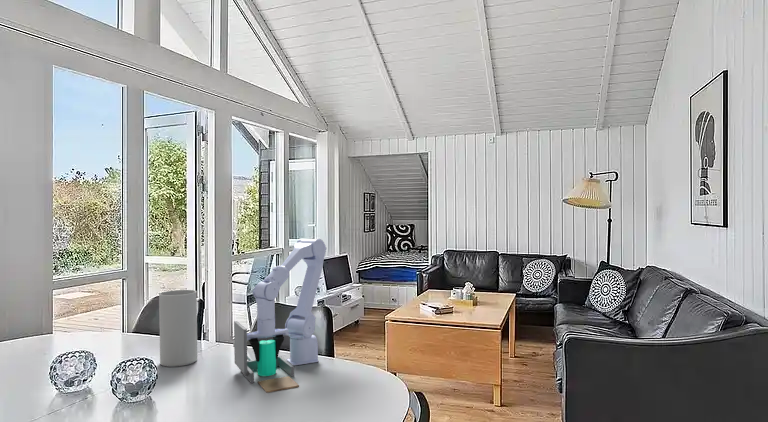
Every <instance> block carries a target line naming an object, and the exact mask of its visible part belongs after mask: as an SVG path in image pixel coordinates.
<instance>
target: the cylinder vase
mask: <svg viewBox="0 0 768 422" xmlns="http://www.w3.org/2000/svg"><path fill="white" fill-rule="evenodd" d="M197 293H198V292H197V290H194V289H177V290H175V289H174V290H168V291H167V290H166V291H162V292H159V294H158V310H159V311H158V312H159V315H158V317H159V318H158V319H159V325H158V326H159V363H160V365H162V366H163V367H169V368H171V367H175V368H176V367H184V366H188V365H191V364H194V363H195V362H196V361H197V360H198V311H197V310H198V308H197V307H198V303H197V300H198V299H197V298H198V296H197V295H198V294H197Z"/></svg>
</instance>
